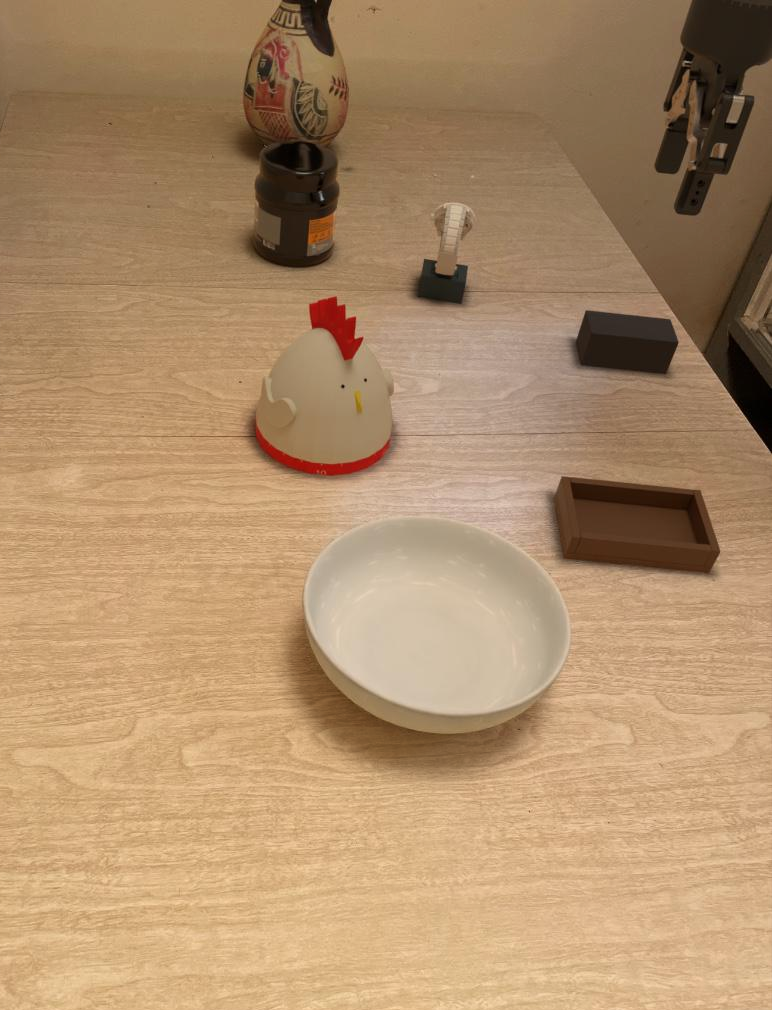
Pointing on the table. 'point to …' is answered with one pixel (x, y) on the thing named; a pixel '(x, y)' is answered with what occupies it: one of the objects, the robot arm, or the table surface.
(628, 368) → the black rectangular block
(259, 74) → the ceramic jug
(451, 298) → the cobra figurine
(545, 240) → the table surface
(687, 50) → the robot arm
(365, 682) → the serving bowl
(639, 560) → the brown wooden tray
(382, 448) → the kitchen timer
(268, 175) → the supplement container
